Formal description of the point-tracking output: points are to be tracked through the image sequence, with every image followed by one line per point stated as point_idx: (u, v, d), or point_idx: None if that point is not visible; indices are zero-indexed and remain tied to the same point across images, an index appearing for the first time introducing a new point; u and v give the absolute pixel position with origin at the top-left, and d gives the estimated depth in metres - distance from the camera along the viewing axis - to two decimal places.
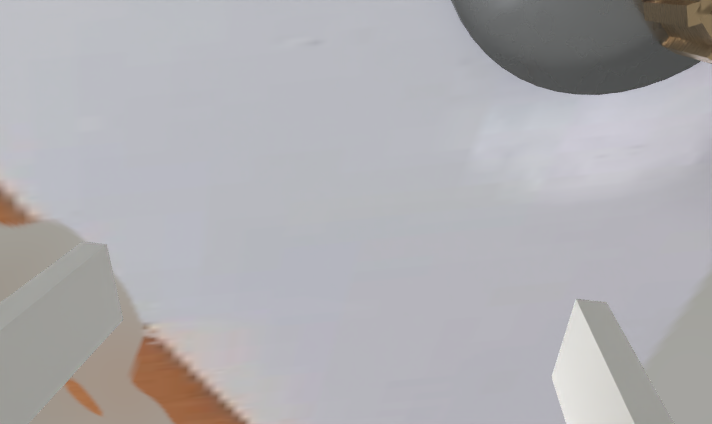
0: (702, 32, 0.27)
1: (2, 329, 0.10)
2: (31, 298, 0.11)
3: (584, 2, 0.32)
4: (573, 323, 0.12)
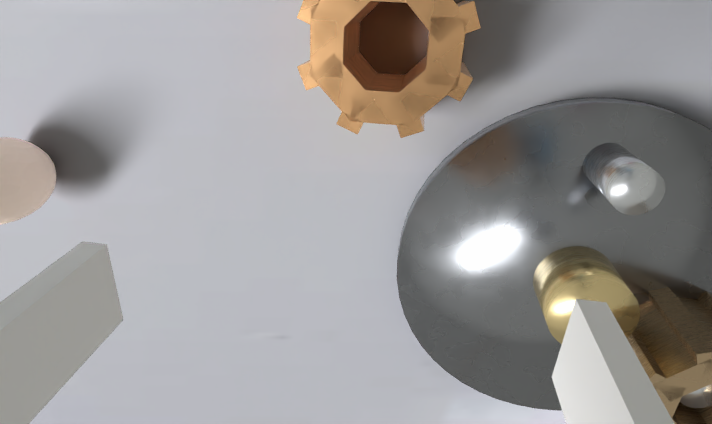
0: None
1: (2, 329, 0.10)
2: (31, 298, 0.11)
3: (539, 342, 0.33)
4: (573, 323, 0.12)
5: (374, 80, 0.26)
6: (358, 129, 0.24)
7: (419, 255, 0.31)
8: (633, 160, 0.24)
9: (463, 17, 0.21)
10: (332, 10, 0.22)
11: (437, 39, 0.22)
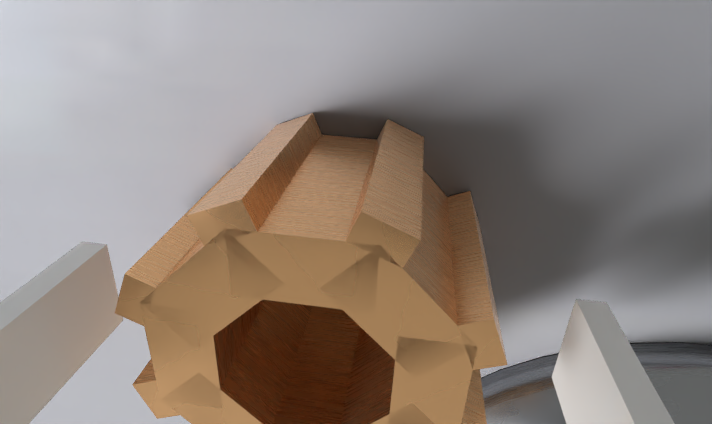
0: None
1: (2, 329, 0.10)
2: (31, 298, 0.11)
3: None
4: (573, 323, 0.12)
5: (305, 342, 0.14)
6: None
7: None
8: None
9: (469, 344, 0.09)
10: (187, 305, 0.10)
11: (412, 372, 0.10)
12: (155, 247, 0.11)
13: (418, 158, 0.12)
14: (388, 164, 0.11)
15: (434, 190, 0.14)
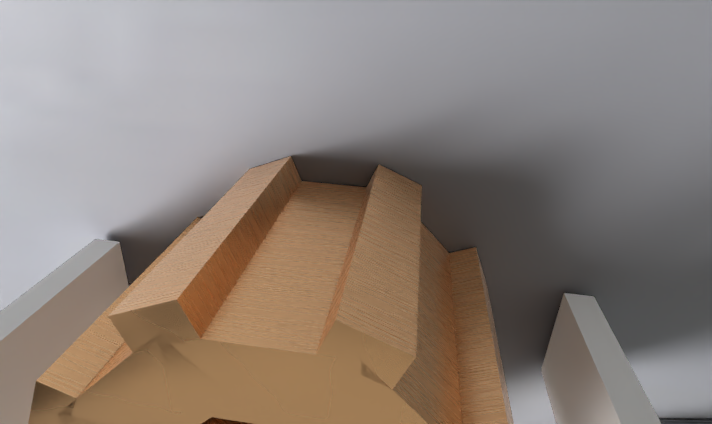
0: None
1: (20, 324, 0.10)
2: (48, 294, 0.11)
3: None
4: (561, 317, 0.12)
5: None
6: None
7: None
8: None
9: None
10: (118, 416, 0.08)
11: None
12: (85, 335, 0.09)
13: (414, 218, 0.10)
14: (376, 233, 0.09)
15: (434, 248, 0.12)
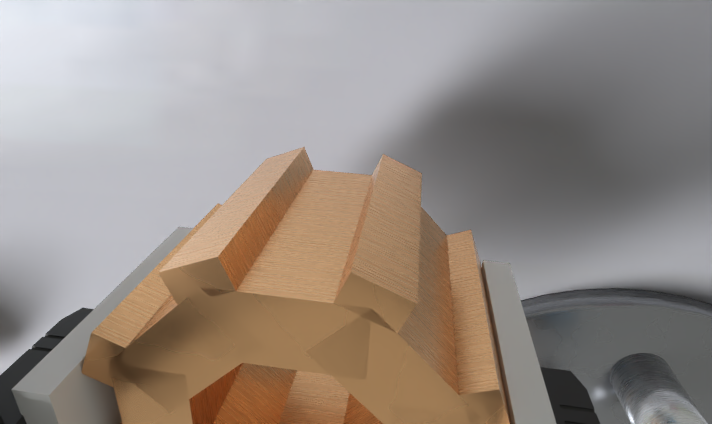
0: None
1: None
2: None
3: None
4: None
5: (294, 392, 0.13)
6: None
7: None
8: (684, 413, 0.17)
9: (471, 414, 0.08)
10: (160, 365, 0.09)
11: None
12: (128, 299, 0.10)
13: (415, 199, 0.11)
14: (382, 209, 0.10)
15: (433, 230, 0.13)
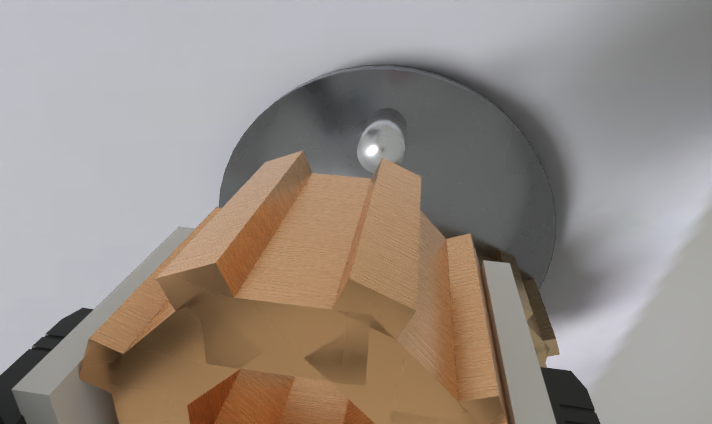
0: None
1: None
2: None
3: None
4: None
5: (293, 397, 0.13)
6: None
7: None
8: (382, 123, 0.25)
9: (470, 421, 0.08)
10: (158, 371, 0.09)
11: None
12: (126, 303, 0.10)
13: (415, 203, 0.11)
14: (382, 214, 0.10)
15: (432, 233, 0.13)
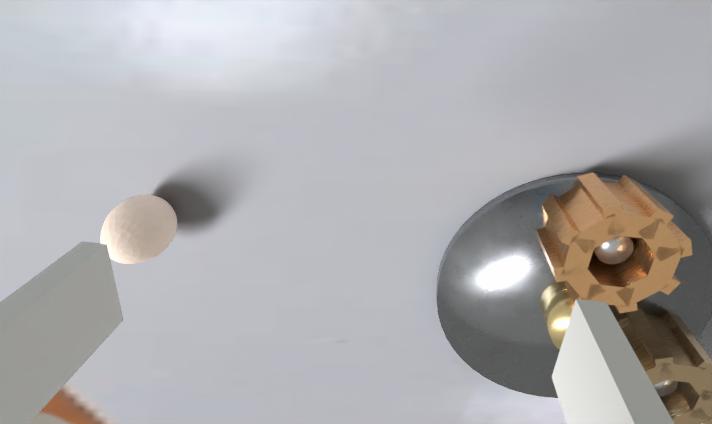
0: None
1: (1, 329, 0.10)
2: (31, 298, 0.11)
3: (543, 346, 0.43)
4: (573, 323, 0.12)
5: None
6: None
7: (454, 283, 0.42)
8: None
9: (681, 248, 0.31)
10: (587, 238, 0.32)
11: (660, 259, 0.32)
12: (568, 221, 0.33)
13: (646, 191, 0.34)
14: (645, 193, 0.33)
15: None
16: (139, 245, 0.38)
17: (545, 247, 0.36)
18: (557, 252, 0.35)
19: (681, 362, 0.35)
